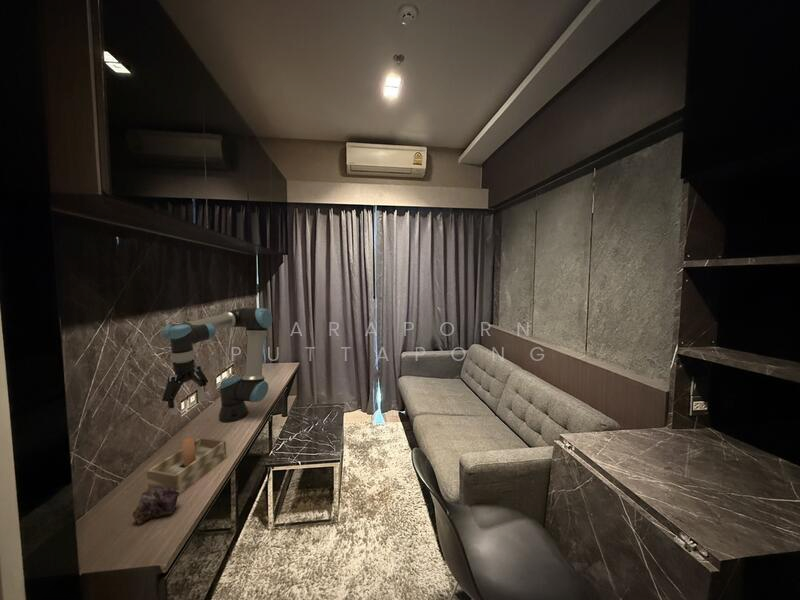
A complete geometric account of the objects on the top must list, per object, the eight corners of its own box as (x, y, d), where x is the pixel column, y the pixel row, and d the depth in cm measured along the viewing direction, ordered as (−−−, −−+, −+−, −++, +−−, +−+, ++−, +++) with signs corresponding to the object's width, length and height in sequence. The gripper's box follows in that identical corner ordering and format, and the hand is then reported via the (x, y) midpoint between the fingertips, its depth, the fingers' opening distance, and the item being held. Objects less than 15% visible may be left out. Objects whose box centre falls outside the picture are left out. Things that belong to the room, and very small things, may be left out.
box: (201, 453, 139) (200, 437, 139) (226, 457, 136) (225, 440, 136) (148, 490, 116) (146, 471, 115) (177, 495, 113) (175, 476, 112)
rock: (169, 523, 102) (182, 501, 112) (171, 500, 101) (184, 479, 111) (128, 526, 99) (145, 503, 108) (130, 503, 98) (147, 481, 108)
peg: (191, 468, 129) (188, 436, 127) (199, 469, 128) (196, 437, 126) (182, 475, 125) (179, 441, 123) (190, 476, 124) (187, 442, 122)
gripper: (200, 351, 141) (205, 393, 143) (146, 370, 116) (153, 420, 119) (214, 352, 139) (218, 394, 142) (162, 371, 115) (168, 422, 118)
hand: (188, 406), depth 131 cm, fingers open, 13 cm apart
